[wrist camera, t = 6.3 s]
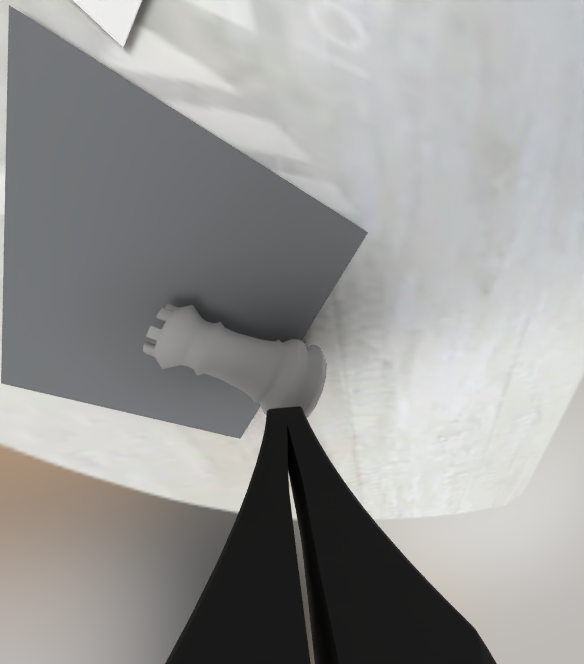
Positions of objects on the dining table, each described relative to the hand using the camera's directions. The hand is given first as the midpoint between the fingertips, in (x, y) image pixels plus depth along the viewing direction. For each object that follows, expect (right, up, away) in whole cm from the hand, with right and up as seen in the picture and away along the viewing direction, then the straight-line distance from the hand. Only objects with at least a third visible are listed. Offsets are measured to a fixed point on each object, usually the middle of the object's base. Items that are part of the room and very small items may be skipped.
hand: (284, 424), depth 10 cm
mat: (-6, +5, +3) cm, 8 cm away
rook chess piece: (+1, +1, +3) cm, 4 cm away
